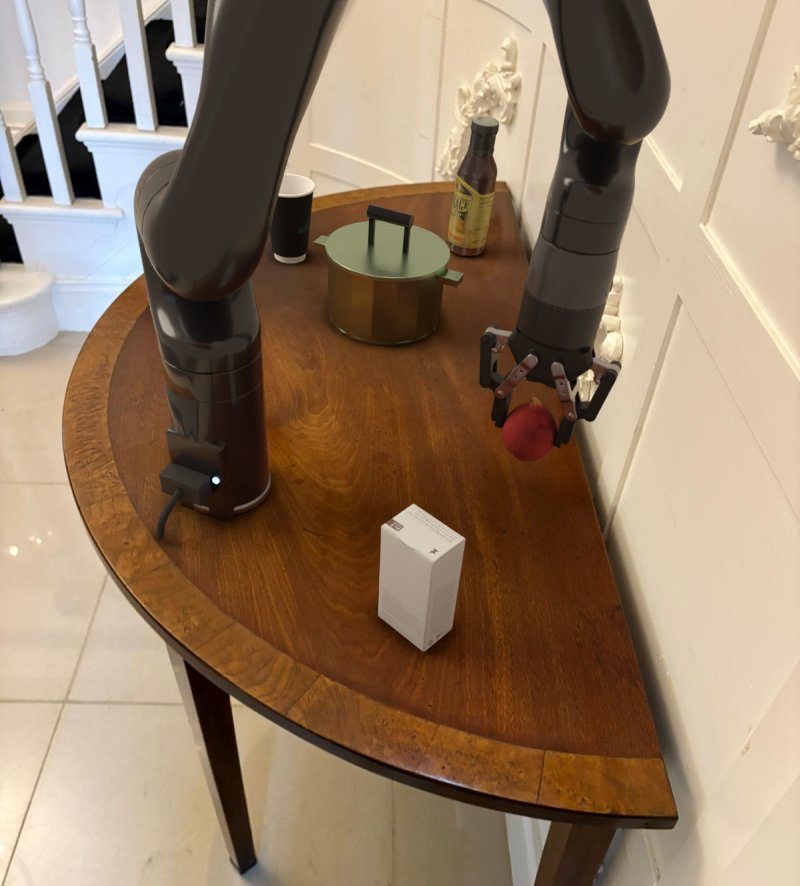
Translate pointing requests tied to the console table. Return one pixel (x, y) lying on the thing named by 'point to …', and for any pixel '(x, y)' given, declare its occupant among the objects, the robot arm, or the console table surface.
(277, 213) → the dixie cup
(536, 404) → the onion
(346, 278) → the pot
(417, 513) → the cosmetic box
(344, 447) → the console table surface
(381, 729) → the console table surface
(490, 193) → the sauce bottle
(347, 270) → the lid
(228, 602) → the console table surface
